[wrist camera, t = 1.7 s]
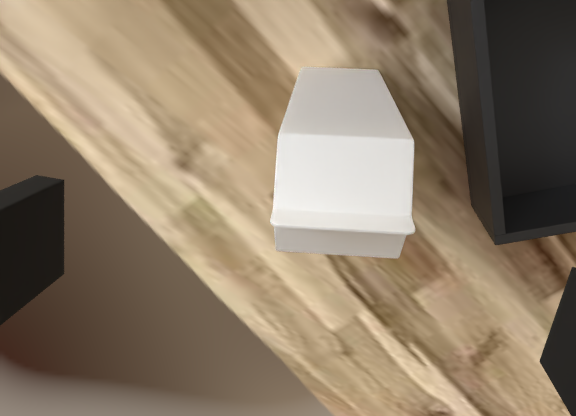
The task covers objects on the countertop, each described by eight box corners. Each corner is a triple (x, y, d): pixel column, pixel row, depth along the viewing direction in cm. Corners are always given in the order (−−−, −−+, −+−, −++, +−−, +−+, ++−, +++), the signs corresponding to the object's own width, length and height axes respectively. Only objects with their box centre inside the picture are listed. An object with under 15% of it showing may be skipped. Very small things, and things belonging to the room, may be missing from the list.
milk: (371, 144, 42) (409, 300, 22) (297, 140, 42) (268, 291, 22) (379, 67, 39) (430, 164, 19) (299, 64, 40) (269, 156, 20)
